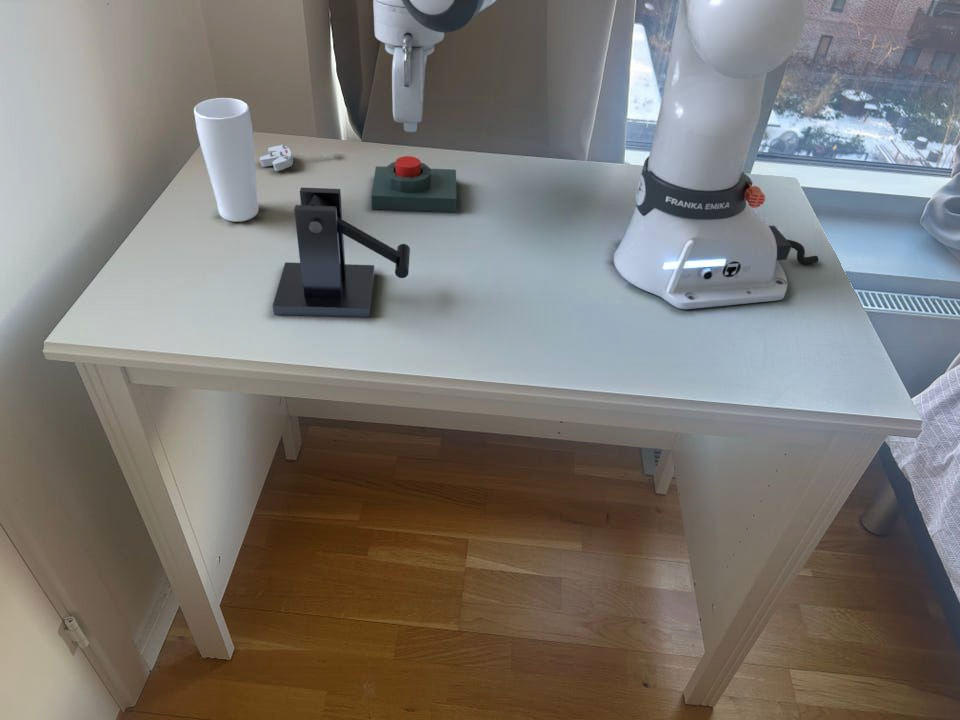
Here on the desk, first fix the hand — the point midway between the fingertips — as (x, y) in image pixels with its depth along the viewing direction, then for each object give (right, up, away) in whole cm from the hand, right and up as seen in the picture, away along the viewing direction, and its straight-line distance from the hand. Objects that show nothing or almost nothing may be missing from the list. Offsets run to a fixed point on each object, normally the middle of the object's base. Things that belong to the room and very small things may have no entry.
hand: (410, 127), depth 102 cm
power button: (-1, -5, +5) cm, 7 cm away
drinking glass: (-24, -12, 0) cm, 27 cm away
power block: (0, -8, +7) cm, 11 cm away
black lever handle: (-5, -19, -17) cm, 26 cm away
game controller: (-18, -2, +13) cm, 22 cm away
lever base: (-9, -24, -12) cm, 29 cm away
